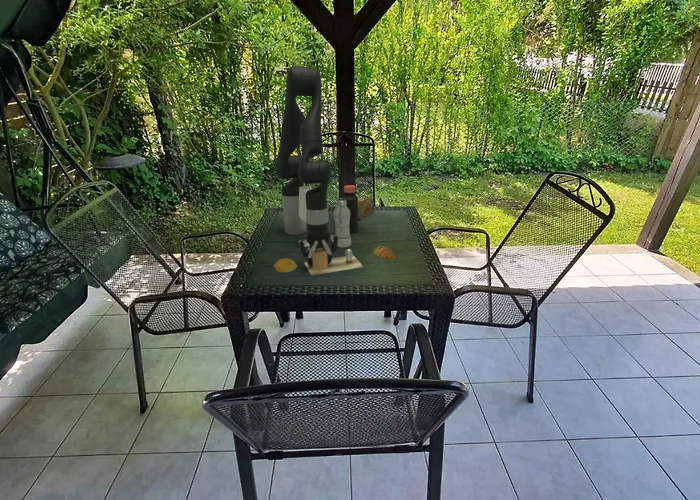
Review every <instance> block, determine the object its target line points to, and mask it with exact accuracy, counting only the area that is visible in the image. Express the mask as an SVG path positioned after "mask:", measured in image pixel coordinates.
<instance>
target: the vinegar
mask: <svg viewBox="0 0 700 500" xmlns="http://www.w3.org/2000/svg"><path fill="white" fill-rule="evenodd" d="M343 193H344V195H343V196H342V197H341V199H346V201H347V205H346V206H347V207H348V209H349V210H350V221H349V231H350V234H355V233H357V232H358V231H359V219H358V201H359V197H358V196H357V195H356V186H355V185H353V184H350V185H349V184H347V185H344V186H343Z"/></svg>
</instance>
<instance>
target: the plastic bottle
mask: <svg viewBox="0 0 700 500" xmlns="http://www.w3.org/2000/svg"><path fill="white" fill-rule="evenodd" d="M336 205H337V206H336V207H335V209H334V210H333V213H332V214H333V218H334V226H335V233H334V234H335V235H336V236H337V237H338V243H337V248H342V249H343V248H348V247H350V246H352V239H351V238H352V237H351V233H350V231H349V221H350V210H349V209H348V207H347V206H346V205H347V201H346V199H342V198H337V199H336Z"/></svg>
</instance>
